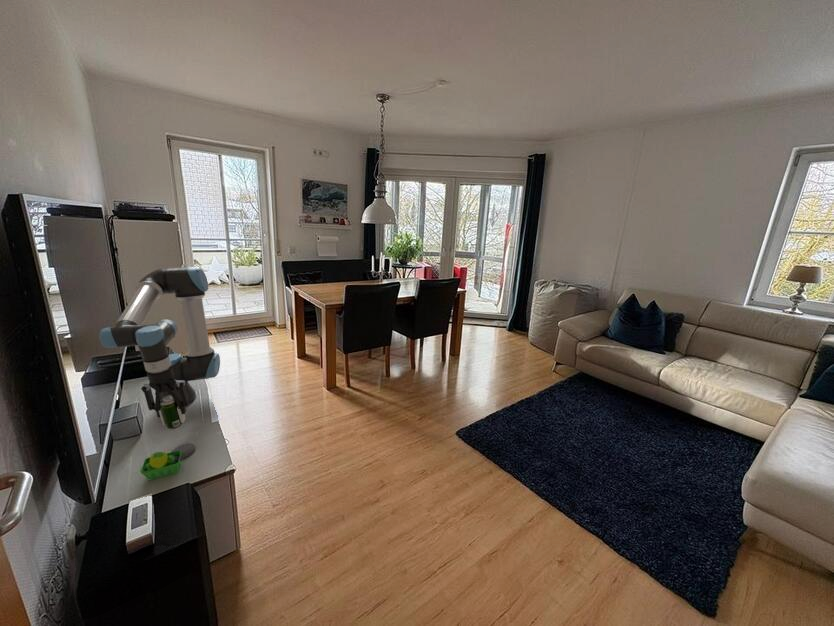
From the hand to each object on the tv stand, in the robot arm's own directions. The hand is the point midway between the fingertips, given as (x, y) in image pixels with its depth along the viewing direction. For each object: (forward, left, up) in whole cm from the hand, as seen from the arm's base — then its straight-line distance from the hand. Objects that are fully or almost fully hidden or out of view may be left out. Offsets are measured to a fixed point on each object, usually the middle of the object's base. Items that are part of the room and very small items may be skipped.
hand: (174, 421), depth 132 cm
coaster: (0, 0, -15) cm, 15 cm away
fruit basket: (+10, -3, -15) cm, 18 cm away
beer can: (0, 0, -2) cm, 2 cm away
